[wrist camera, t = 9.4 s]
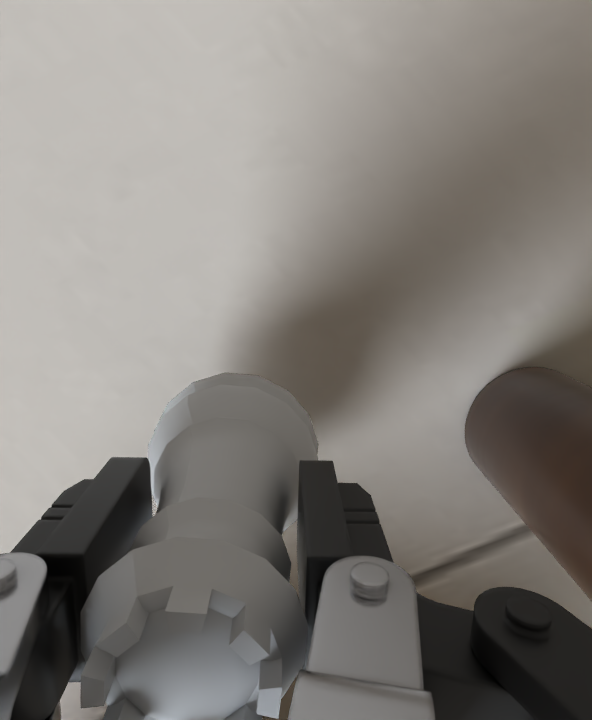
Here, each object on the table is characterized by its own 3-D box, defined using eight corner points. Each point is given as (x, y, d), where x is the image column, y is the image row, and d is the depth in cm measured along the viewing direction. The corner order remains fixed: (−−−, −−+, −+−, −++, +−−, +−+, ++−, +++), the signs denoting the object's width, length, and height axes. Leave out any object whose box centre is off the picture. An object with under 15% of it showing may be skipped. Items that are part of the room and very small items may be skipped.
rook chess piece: (124, 415, 14) (-78, 640, 6) (268, 338, 13) (249, 473, 6) (208, 542, 15) (126, 878, 7) (345, 474, 14) (417, 749, 7)
